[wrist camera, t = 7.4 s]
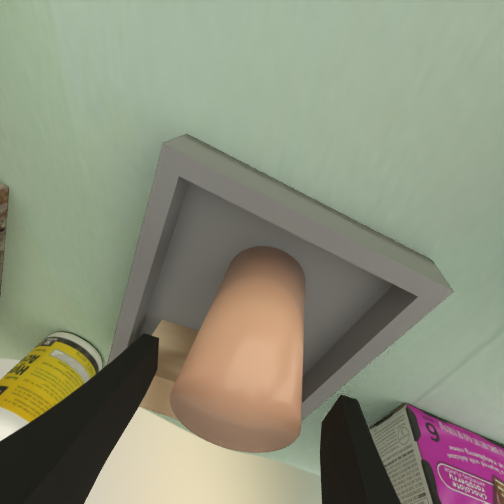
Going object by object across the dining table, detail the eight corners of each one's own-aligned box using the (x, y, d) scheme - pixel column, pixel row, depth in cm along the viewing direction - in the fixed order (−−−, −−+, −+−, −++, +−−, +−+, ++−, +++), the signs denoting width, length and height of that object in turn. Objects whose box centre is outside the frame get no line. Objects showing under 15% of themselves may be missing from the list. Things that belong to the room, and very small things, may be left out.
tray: (432, 260, 15) (453, 291, 12) (275, 413, 24) (272, 446, 22) (187, 134, 14) (163, 143, 11) (124, 345, 23) (105, 372, 21)
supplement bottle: (60, 319, 23) (-82, 451, 15) (114, 357, 24) (12, 498, 16) (39, 345, 26) (-93, 470, 17) (89, 378, 27) (-11, 509, 19)
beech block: (215, 337, 20) (195, 389, 16) (206, 370, 22) (187, 422, 18) (162, 319, 20) (130, 367, 16) (158, 354, 22) (129, 403, 18)
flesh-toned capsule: (316, 259, 15) (321, 401, 8) (292, 319, 18) (279, 465, 11) (235, 236, 15) (173, 355, 8) (222, 298, 18) (166, 428, 11)
